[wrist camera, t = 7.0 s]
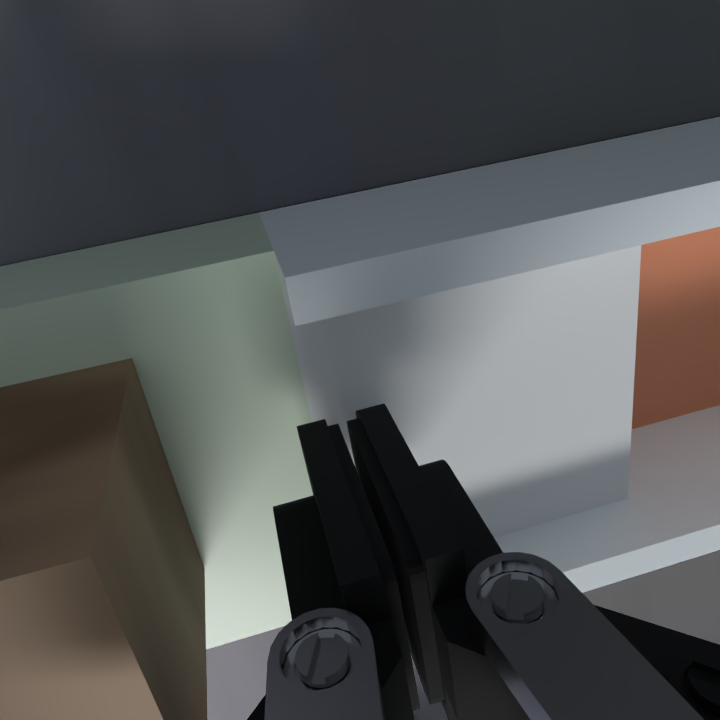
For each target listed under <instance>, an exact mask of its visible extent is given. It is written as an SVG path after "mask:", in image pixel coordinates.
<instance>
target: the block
mask: <svg viewBox="0 0 720 720" xmlns="http://www.w3.org/2000/svg"><path fill="white" fill-rule="evenodd" d="M0 720H207V679H206V622H205V568H204V565H203V563H202V560H201V557H200V554H199V551H198V548H197V545H196V542H195V539H194V536H193V534H192V531H191V528H190V525H189V522H188V519H187V516H186V513H185V510H184V507H183V505H182V502H181V499H180V496H179V493H178V490H177V487H176V484H175V481H174V478H173V476H172V473H171V470H170V467H169V464H168V461H167V458H166V455H165V452H164V449H163V446H162V444H161V441H160V438H159V435H158V432H157V429H156V426H155V423H154V420H153V417H152V415H151V412H150V409H149V406H148V403H147V400H146V397H145V394H144V391H143V388H142V386H141V383H140V380H139V377H138V374H137V371H136V368H135V365H134V362H133V359H132V358H130V359H125V360H121V361H116V362H112V363H107V364H103V365H99V366H94V367H90V368H85V369H81V370H76V371H72V372H67V373H63V374H58V375H54V376H49V377H45V378H40V379H36V380H31V381H27V382H22V383H18V384H13V385H9V386H4V387H0Z"/></svg>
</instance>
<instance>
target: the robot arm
mask: <svg viewBox="0 0 720 720" xmlns="http://www.w3.org/2000/svg"><path fill="white" fill-rule="evenodd" d="M347 428H348V433H349V438H350V443H351V448H352V453H353V458H354V463H355V465H354V463H353V460H352V457H351V455H350V452H349V450H348V447H347V445H346V442H345V439H344V437H343V434H342V432H341V429H340V427H339V424H334V425H330V426H328V425H327V423H326V420H325V419H322V420H318V421H315V422H311V423H307V424H303V425H299V426H297V431H298V435H299V439H300V443H301V447H302V451H303V455H304V459H305V463H306V468H307V472H308V476H309V480H310V484H311V488H312V492H313V496H309V497H306V498H302V499H298V500H295V501H291V502H288V503H284V504H280V505H277V506H273V513H274V519H275V525H276V531H277V537H278V542H279V548H280V554H281V560H282V566H283V571H284V577H285V583H286V589H287V595H288V601H289V606H290V612H291V618H292V621H290V622H289V623H288V624H287V625H286V626H285V627H284V628H283V629H282V630H281V631H280V632H279V633H278V635H277V637H276V638H275V640H274V642H273V643H272V645H271V648H270V652H269V657H268V662H267V681H266V695H265V696H264V698H263V699H262V700H261V702H260V703H259V704H258V706H257V707H256V708H255V710H254V711H253V712H252V714H251V715H250V716H249V718H248V719H247V720H414V715H413V710H416V709H419V708H420V704H419V698H418V693H417V687H416V682H415V676H414V671H413V665H412V660H411V655H412V658H413V660H414V663H415V666H416V669H417V672H418V674H419V677H420V680H421V683H422V685H423V688H424V691H425V694H426V696H427V699H428V701H429V703H430V705H431V704H434V703H437V702H440V701H442V704H443V707H444V709H445V712H446V714H447V717H448V720H720V645H719V644H715V643H712V642H709V641H706V640H703V639H700V638H696V637H693V636H690V635H687V634H684V633H681V632H678V631H674V630H671V629H668V628H665V627H662V626H659V625H655V624H652V623H649V622H646V621H643V620H640V619H637V618H633V617H630V616H627V615H624V614H621V613H618V612H615V611H611V610H608V609H605V608H602V607H599V606H596V605H593V604H592V603H591V602H590V601H589V600H588V598H587V597H586V596H585V595H584V594H583V593H582V592H581V591H580V590H579V589H578V588H577V587H576V586H575V585H574V584H573V583H572V582H571V581H570V580H569V579H568V578H567V577H566V576H565V575H564V574H563V573H562V571H561V570H559V569H558V568H557V567H556V566H554V565H553V564H552V563H550V562H549V561H548V560H545V559H543V558H541V557H538V556H536V555H533V554H528V553H522V552H507V553H503V551H502V550H501V548H500V546H499V545H498V543H497V542H496V540H495V538H494V537H493V535H492V534H491V532H490V530H489V529H488V527H487V525H486V524H485V522H484V521H483V519H482V517H481V516H480V514H479V513H478V511H477V509H476V508H475V506H474V505H473V503H472V501H471V500H470V498H469V496H468V495H467V493H466V492H465V490H464V488H463V487H462V485H461V484H460V482H459V480H458V479H457V477H456V476H455V474H454V472H453V471H452V469H451V467H450V466H449V465H448V463H447V462H446V461H445V460H443V459H442V460H438V461H435V462H431V463H428V464H424V465H420V466H419V465H418V464H417V462H416V460H415V458H414V456H413V454H412V453H411V451H410V449H409V447H408V445H407V443H406V442H405V440H404V438H403V436H402V434H401V432H400V431H399V429H398V427H397V425H396V423H395V421H394V420H393V418H392V416H391V414H390V412H389V410H388V409H387V407H386V405H385V404H379V405H376V406H372V407H368V408H364V409H360V410H357V411H356V419H353V420H349V421H347ZM410 652H411V654H410Z"/></svg>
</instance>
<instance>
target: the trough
mask: <svg viewBox="0 0 720 720" xmlns="http://www.w3.org/2000/svg"><path fill="white" fill-rule="evenodd" d="M130 358H132V359H133V362H134V365H135V368H136V371H137V374H138V377H139V380H140V383H141V386H142V388H143V391H144V394H145V397H146V400H147V403H148V406H149V409H150V412H151V415H152V417H153V420H154V423H155V426H156V429H157V432H158V435H159V438H160V441H161V444H162V446H163V449H164V452H165V455H166V458H167V461H168V464H169V467H170V470H171V473H172V476H173V478H174V481H175V484H176V487H177V490H178V493H179V496H180V499H181V502H182V505H183V507H184V510H185V513H186V516H187V519H188V522H189V525H190V528H191V531H192V534H193V536H194V539H195V542H196V545H197V548H198V551H199V554H200V557H201V560H202V563H203V565H204V568H205V622H206V649H209V648H213V647H216V646H219V645H223V644H226V643H229V642H233V641H236V640H239V639H243V638H246V637H249V636H253V635H256V634H259V633H263V632H266V631H269V630H273V629H276V628H279V627H283V626H286V625H287V624H288V623H289V622H290V621H292V618H291V612H290V606H289V601H288V595H287V589H286V583H285V577H284V571H283V566H282V560H281V554H280V548H279V542H278V537H277V531H276V525H275V519H274V513H273V506H277V505H280V504H284V503H288V502H291V501H295V500H298V499H302V498H306V497H309V496H313V492H312V488H311V484H310V480H309V476H308V472H307V468H306V463H305V459H304V455H303V451H302V447H301V443H300V439H299V435H298V431H297V426H299V425H303V424H307V423H311V422H315V421H318V420H322V419H325V420H326V423H327V425H328V426H330V425H334V424H339V427H340V429H341V432H342V434H343V437H344V439H345V442H346V445H347V447H348V450H349V452H350V455H351V457H352V460H353V463H354V458H353V453H352V448H351V443H350V438H349V433H348V428H347V421H349V420H353V419H356V411H357V410H360V409H364V408H368V407H372V406H376V405H379V404H385V405H386V407H387V409H388V410H389V412H390V414H391V416H392V418H393V420H394V421H395V423H396V425H397V427H398V429H399V431H400V432H401V434H402V436H403V438H404V440H405V442H406V443H407V445H408V447H409V449H410V451H411V453H412V454H413V456H414V458H415V460H416V462H417V464H418V465H419V466H420V465H424V464H428V463H431V462H435V461H438V460H442V459H443V460H445V461H446V462H447V463H448V465H449V466H450V467H451V469H452V471H453V472H454V474H455V476H456V477H457V479H458V480H459V482H460V484H461V485H462V487H463V488H464V490H465V492H466V493H467V495H468V496H469V498H470V500H471V501H472V503H473V505H474V506H475V508H476V509H477V511H478V513H479V514H480V516H481V517H482V519H483V521H484V522H485V524H486V525H487V527H488V529H489V530H490V532H491V534H492V535H493V537H494V538H495V540H496V542H497V543H498V545H499V546H500V548H501V550H502V551H503V553H507V552H522V553H528V554H533V555H536V556H538V557H541V558H543V559H545V560H548V561H549V562H550V563H552V564H553V565H554V566H556V567H557V568H558V569H559V570H561V571H562V573H563V574H564V575H565V576H566V577H567V578H568V579H569V580H570V581H571V582H572V583H573V584H574V585H575V586H576V587H577V588H578V589H579V590H580V591H581V592H582V593H583V592H586V591H589V590H592V589H596V588H599V587H602V586H605V585H608V584H612V583H615V582H618V581H621V580H624V579H628V578H631V577H634V576H637V575H640V574H644V573H647V572H650V571H653V570H656V569H660V568H663V567H666V566H669V565H672V564H676V563H679V562H682V561H685V560H689V559H692V558H695V557H698V556H701V555H705V554H708V553H711V552H714V551H717V550H720V117H716V118H711V119H707V120H702V121H697V122H692V123H687V124H683V125H678V126H673V127H668V128H663V129H658V130H654V131H649V132H644V133H639V134H634V135H630V136H625V137H620V138H615V139H610V140H606V141H601V142H596V143H591V144H586V145H582V146H577V147H572V148H567V149H562V150H557V151H553V152H548V153H543V154H538V155H533V156H529V157H524V158H519V159H514V160H509V161H505V162H500V163H495V164H490V165H485V166H481V167H476V168H471V169H466V170H461V171H456V172H452V173H447V174H442V175H437V176H432V177H428V178H423V179H418V180H413V181H408V182H404V183H399V184H394V185H389V186H384V187H380V188H375V189H370V190H365V191H360V192H355V193H351V194H346V195H341V196H336V197H331V198H327V199H322V200H317V201H312V202H307V203H303V204H298V205H293V206H288V207H283V208H279V209H274V210H269V211H264V212H259V213H254V214H250V215H245V216H240V217H235V218H230V219H226V220H221V221H216V222H211V223H206V224H202V225H197V226H192V227H187V228H182V229H178V230H173V231H168V232H163V233H158V234H153V235H149V236H144V237H139V238H134V239H129V240H125V241H120V242H115V243H110V244H105V245H101V246H96V247H91V248H86V249H81V250H77V251H72V252H67V253H62V254H57V255H52V256H48V257H43V258H38V259H33V260H28V261H24V262H19V263H14V264H9V265H4V266H0V387H4V386H9V385H13V384H18V383H22V382H27V381H31V380H36V379H40V378H45V377H49V376H54V375H58V374H63V373H67V372H72V371H76V370H81V369H85V368H90V367H94V366H99V365H103V364H107V363H112V362H116V361H121V360H125V359H130ZM354 465H355V463H354Z"/></svg>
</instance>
